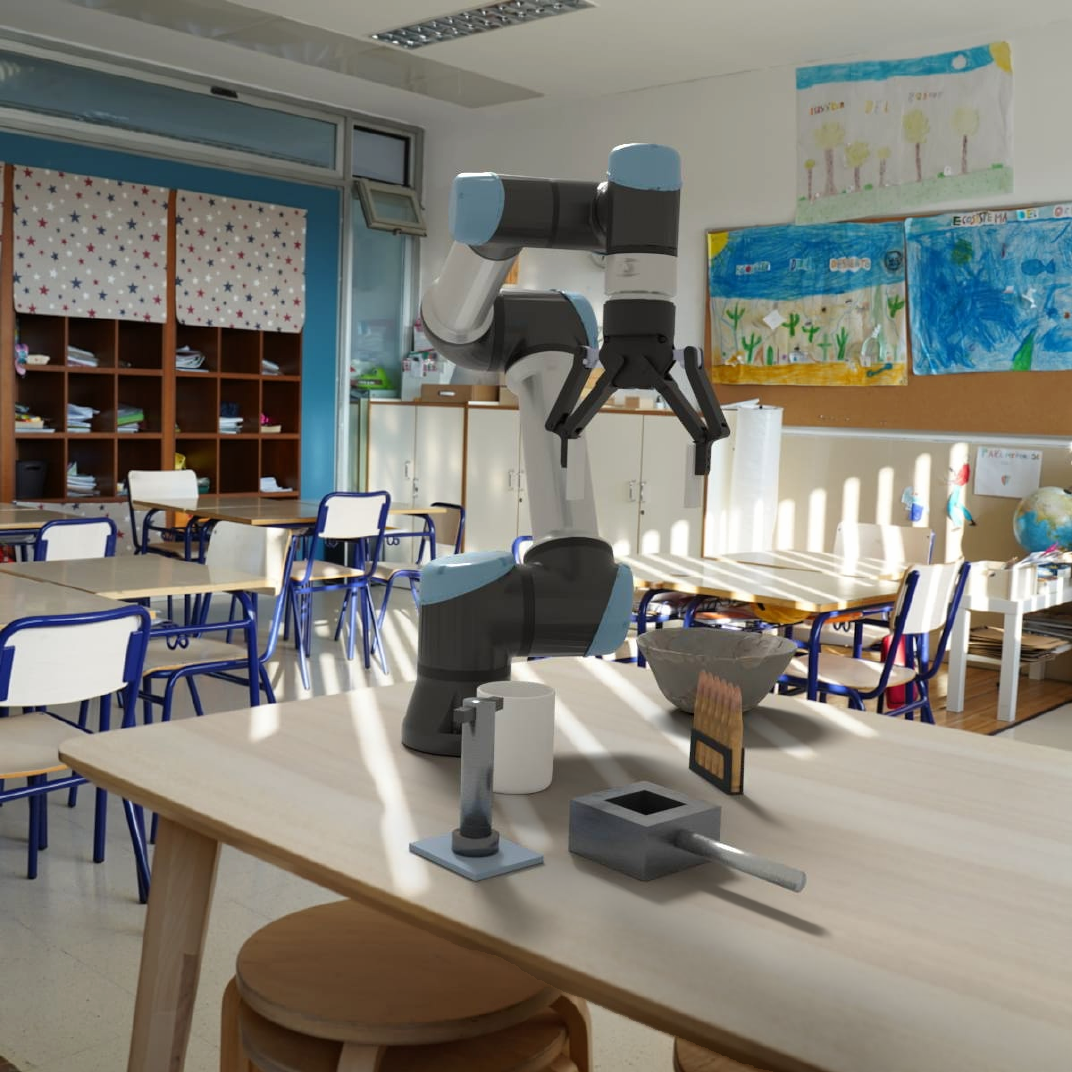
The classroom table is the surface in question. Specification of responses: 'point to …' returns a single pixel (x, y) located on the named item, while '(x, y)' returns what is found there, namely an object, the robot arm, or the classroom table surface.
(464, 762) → the key
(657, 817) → the block
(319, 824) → the classroom table surface
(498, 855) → the mat
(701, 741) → the ammunition clip
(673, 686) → the ceramic bowl
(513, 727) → the mug
